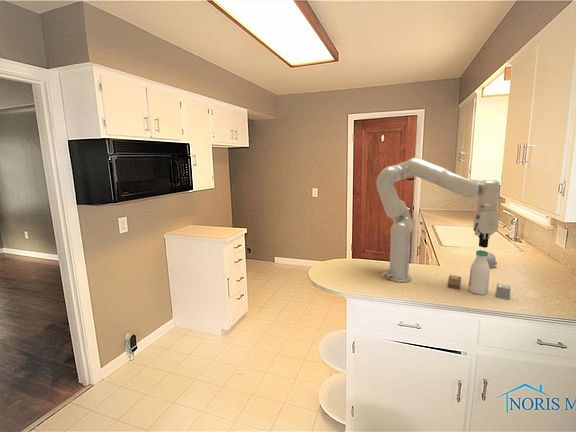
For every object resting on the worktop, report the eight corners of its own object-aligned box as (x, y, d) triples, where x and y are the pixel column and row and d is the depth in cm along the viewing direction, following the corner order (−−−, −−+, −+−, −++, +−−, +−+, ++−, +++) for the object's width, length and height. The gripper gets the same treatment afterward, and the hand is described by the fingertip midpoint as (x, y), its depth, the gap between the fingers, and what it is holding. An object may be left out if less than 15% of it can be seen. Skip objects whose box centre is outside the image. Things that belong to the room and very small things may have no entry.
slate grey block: (509, 300, 134) (510, 289, 133) (495, 297, 137) (497, 286, 136) (508, 295, 138) (510, 285, 137) (495, 293, 141) (497, 283, 140)
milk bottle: (491, 293, 140) (496, 253, 136) (478, 296, 138) (483, 254, 134) (476, 287, 147) (481, 248, 144) (464, 289, 145) (468, 249, 141)
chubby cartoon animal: (473, 270, 177) (470, 258, 174) (488, 260, 179) (485, 248, 177) (485, 274, 170) (482, 261, 168) (500, 264, 173) (497, 251, 170)
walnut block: (459, 290, 145) (460, 280, 144) (447, 287, 148) (448, 277, 147) (460, 286, 149) (461, 276, 148) (449, 284, 152) (449, 274, 151)
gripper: (482, 210, 129) (478, 250, 133) (507, 207, 134) (502, 247, 137) (467, 207, 136) (463, 246, 140) (491, 205, 141) (487, 243, 144)
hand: (483, 246), depth 138 cm, fingers closed
